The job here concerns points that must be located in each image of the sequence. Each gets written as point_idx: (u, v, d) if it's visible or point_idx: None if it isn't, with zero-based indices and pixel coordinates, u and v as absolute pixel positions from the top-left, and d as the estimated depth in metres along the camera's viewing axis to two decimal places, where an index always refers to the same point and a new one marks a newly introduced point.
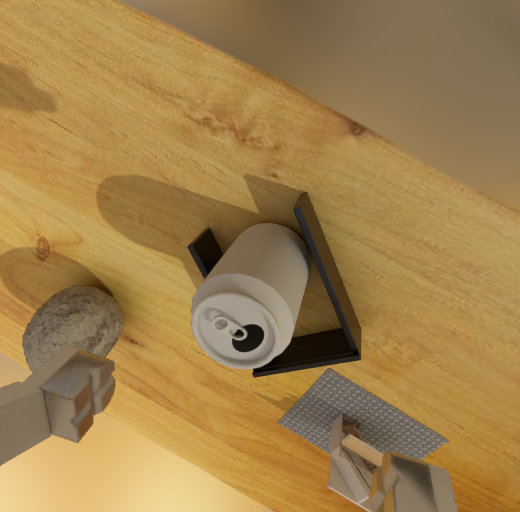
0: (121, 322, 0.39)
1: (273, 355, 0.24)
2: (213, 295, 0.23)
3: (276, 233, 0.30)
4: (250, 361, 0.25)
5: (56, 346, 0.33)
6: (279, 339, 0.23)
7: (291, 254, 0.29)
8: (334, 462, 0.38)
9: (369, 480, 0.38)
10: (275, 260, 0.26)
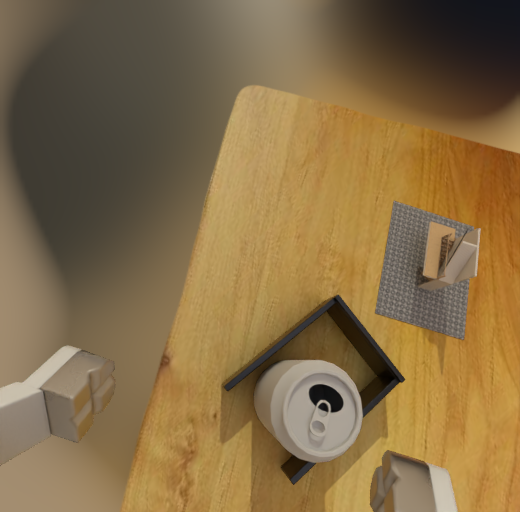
0: None
1: (329, 371, 0.28)
2: (292, 441, 0.26)
3: (256, 399, 0.35)
4: (348, 389, 0.28)
5: None
6: (311, 370, 0.28)
7: (264, 381, 0.34)
8: (457, 277, 0.40)
9: (458, 243, 0.41)
10: (265, 393, 0.31)
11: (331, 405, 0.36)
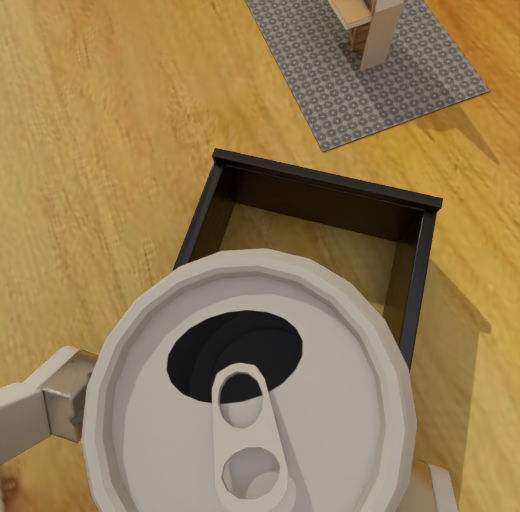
0: None
1: (187, 270, 0.08)
2: None
3: None
4: (285, 281, 0.08)
5: None
6: (131, 307, 0.08)
7: None
8: None
9: None
10: None
11: None
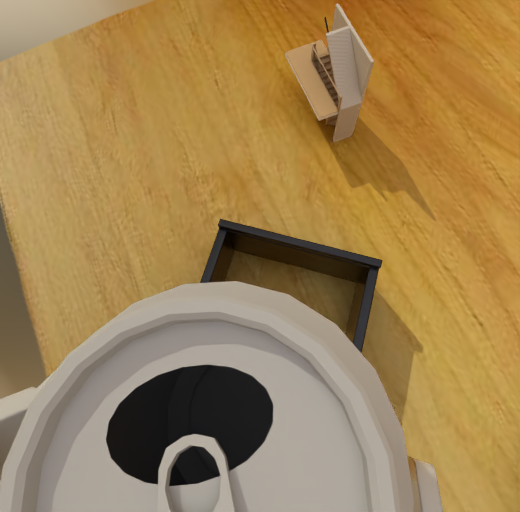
0: None
1: (133, 316, 0.06)
2: None
3: None
4: (253, 329, 0.07)
5: None
6: (62, 364, 0.06)
7: None
8: (359, 89, 0.26)
9: None
10: None
11: None
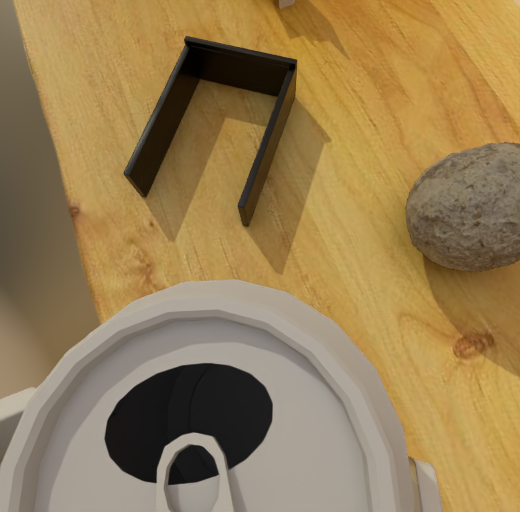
0: None
1: (132, 314, 0.06)
2: None
3: None
4: (252, 327, 0.07)
5: (470, 182, 0.22)
6: (60, 362, 0.06)
7: None
8: None
9: None
10: None
11: None
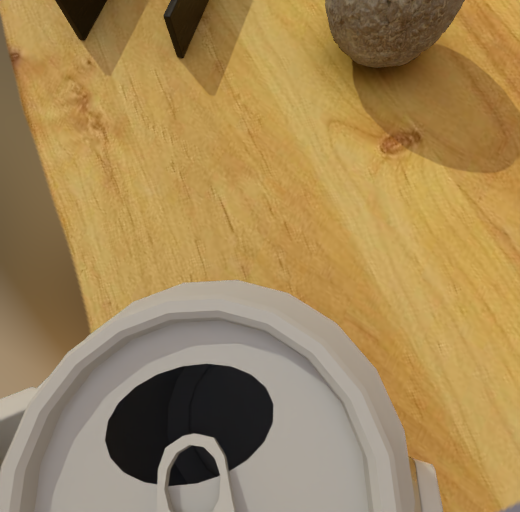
0: None
1: (132, 315, 0.06)
2: None
3: None
4: (253, 328, 0.07)
5: None
6: (61, 363, 0.06)
7: None
8: None
9: None
10: None
11: None
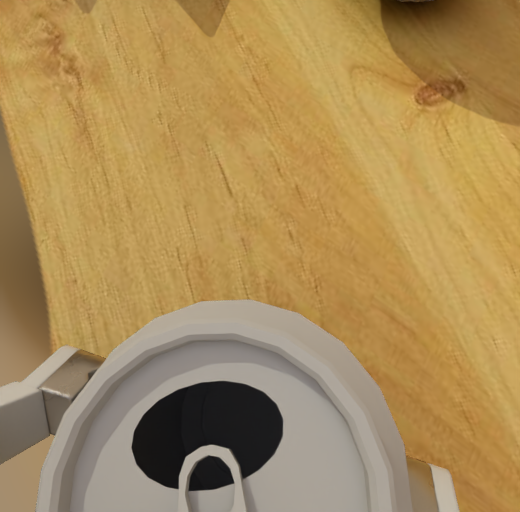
0: None
1: (156, 336, 0.07)
2: None
3: None
4: (265, 349, 0.07)
5: None
6: (92, 378, 0.07)
7: None
8: None
9: None
10: None
11: None
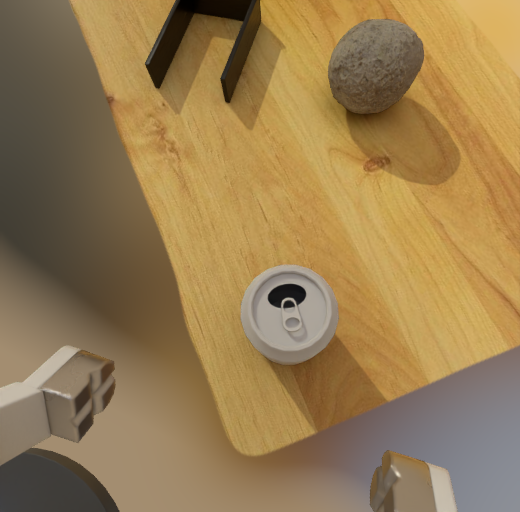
0: None
1: (274, 271, 0.27)
2: (277, 349, 0.26)
3: None
4: (301, 275, 0.27)
5: (355, 38, 0.38)
6: (258, 281, 0.27)
7: None
8: None
9: None
10: None
11: None
